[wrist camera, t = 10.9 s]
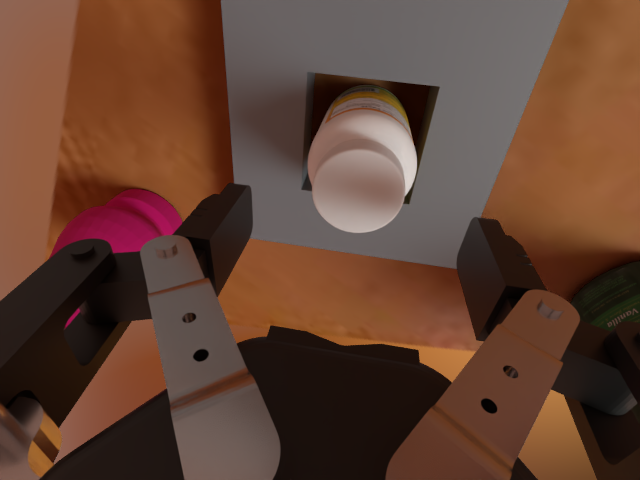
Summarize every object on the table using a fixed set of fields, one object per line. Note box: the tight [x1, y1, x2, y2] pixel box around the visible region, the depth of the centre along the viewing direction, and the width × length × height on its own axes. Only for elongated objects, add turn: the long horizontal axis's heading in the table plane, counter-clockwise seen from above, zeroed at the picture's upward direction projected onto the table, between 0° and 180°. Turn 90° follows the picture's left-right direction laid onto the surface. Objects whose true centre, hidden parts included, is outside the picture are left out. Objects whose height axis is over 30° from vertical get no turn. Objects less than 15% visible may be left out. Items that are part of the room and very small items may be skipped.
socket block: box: [221, 0, 569, 269], centre depth 21 cm, size 16×16×3 cm
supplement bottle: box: [308, 85, 417, 233], centre depth 19 cm, size 5×5×10 cm
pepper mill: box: [49, 189, 182, 330], centre depth 21 cm, size 7×7×20 cm
